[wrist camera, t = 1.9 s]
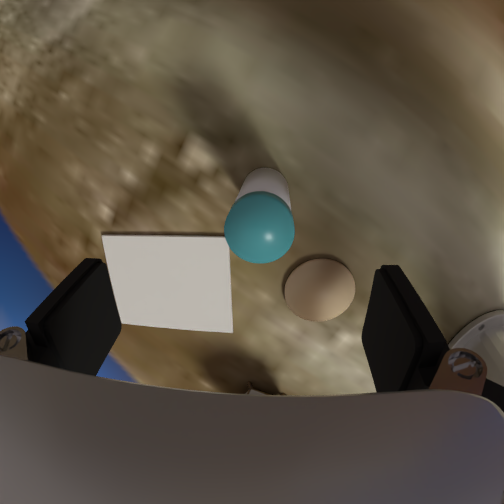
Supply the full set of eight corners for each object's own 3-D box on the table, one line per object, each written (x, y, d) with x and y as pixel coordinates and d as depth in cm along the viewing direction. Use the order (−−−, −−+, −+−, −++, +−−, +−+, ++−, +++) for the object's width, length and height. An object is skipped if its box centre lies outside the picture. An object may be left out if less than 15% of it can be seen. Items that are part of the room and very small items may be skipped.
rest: (359, 259, 27) (360, 261, 27) (349, 318, 30) (349, 321, 29) (286, 257, 27) (286, 259, 27) (282, 318, 30) (283, 320, 30)
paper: (228, 236, 27) (228, 237, 27) (233, 330, 31) (232, 332, 31) (103, 234, 28) (101, 235, 28) (122, 321, 32) (121, 323, 32)
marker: (289, 167, 24) (296, 198, 16) (288, 212, 26) (293, 264, 18) (241, 166, 24) (222, 197, 16) (242, 211, 26) (225, 262, 18)
